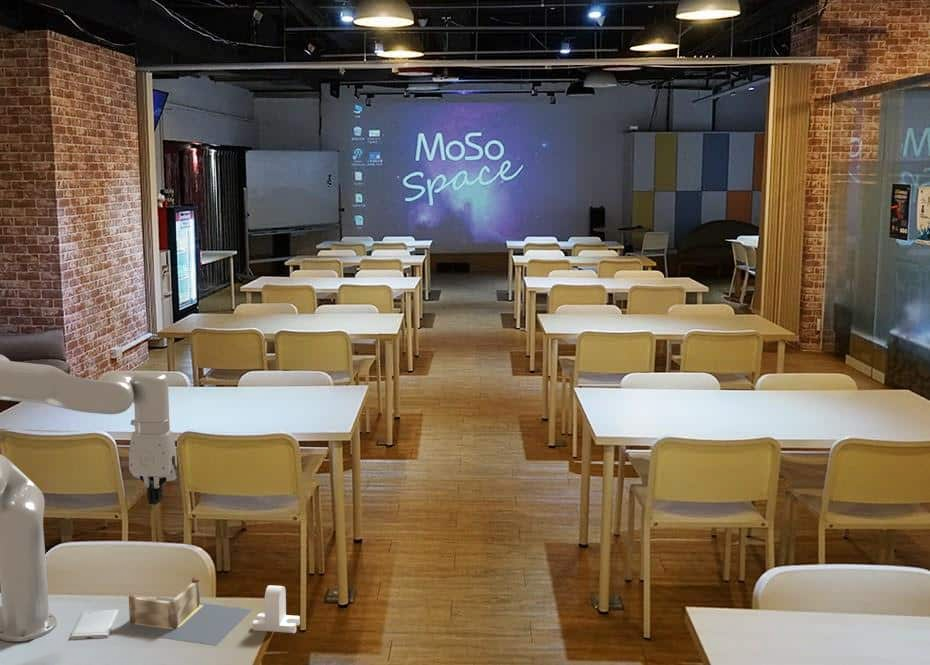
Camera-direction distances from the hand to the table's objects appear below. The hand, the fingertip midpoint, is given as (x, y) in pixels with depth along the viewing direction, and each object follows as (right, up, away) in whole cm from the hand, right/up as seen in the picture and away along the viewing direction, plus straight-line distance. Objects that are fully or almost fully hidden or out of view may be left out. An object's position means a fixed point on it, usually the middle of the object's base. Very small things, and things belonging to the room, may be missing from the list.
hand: (155, 502), depth 225 cm
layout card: (+7, -28, 0) cm, 29 cm away
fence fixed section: (0, -28, -2) cm, 28 cm away
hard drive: (-13, -29, -3) cm, 31 cm away
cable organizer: (+29, -29, -2) cm, 41 cm away
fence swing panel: (+7, -27, +2) cm, 28 cm away
